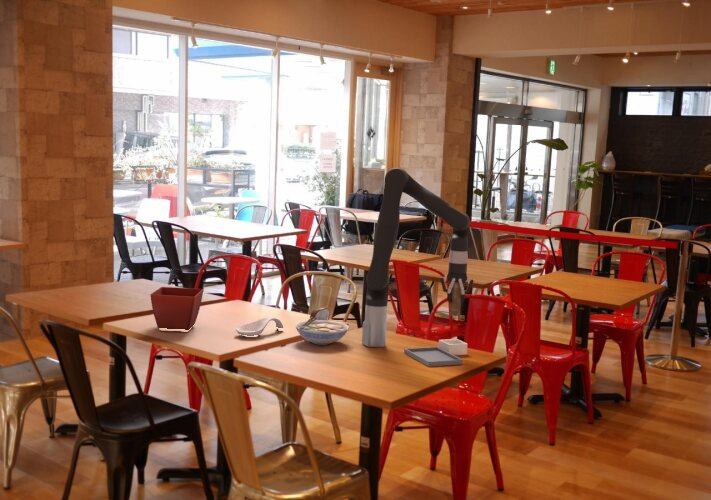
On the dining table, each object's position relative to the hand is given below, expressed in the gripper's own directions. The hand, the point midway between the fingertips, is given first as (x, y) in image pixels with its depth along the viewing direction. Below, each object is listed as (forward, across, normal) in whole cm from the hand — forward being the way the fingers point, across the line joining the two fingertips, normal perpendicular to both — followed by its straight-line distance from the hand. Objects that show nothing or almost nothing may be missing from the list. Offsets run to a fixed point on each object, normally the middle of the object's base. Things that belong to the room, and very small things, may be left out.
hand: (455, 302), depth 331 cm
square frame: (+21, 0, 0) cm, 21 cm away
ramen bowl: (+22, +55, +1) cm, 59 cm away
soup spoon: (+22, +61, -33) cm, 73 cm away
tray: (+21, +8, +13) cm, 26 cm away
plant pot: (+22, +120, -4) cm, 122 cm away
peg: (+5, 0, 0) cm, 5 cm away
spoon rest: (+22, +83, -6) cm, 86 cm away
